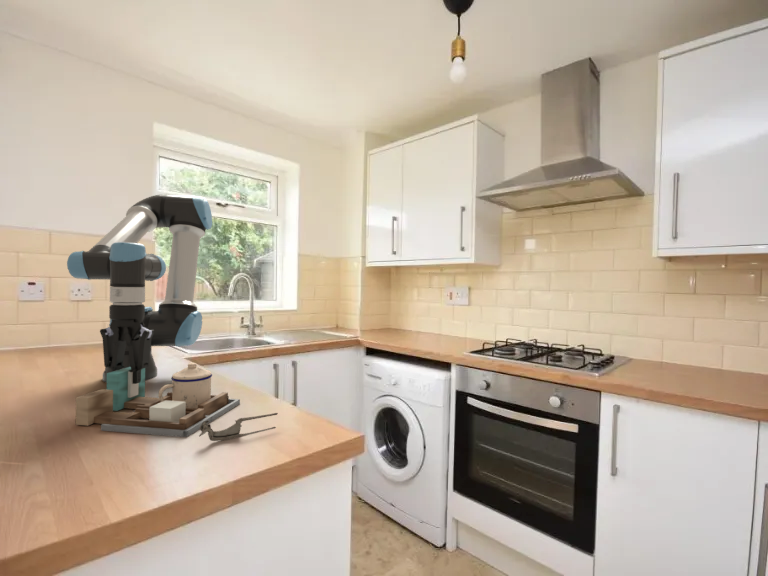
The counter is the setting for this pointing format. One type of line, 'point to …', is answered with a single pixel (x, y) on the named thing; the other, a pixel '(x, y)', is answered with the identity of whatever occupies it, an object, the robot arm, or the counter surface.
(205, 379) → the teacup with lid
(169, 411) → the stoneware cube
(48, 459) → the counter surface
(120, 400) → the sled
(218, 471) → the counter surface
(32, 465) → the counter surface
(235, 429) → the nutcracker
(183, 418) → the sled
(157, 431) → the lane rails
